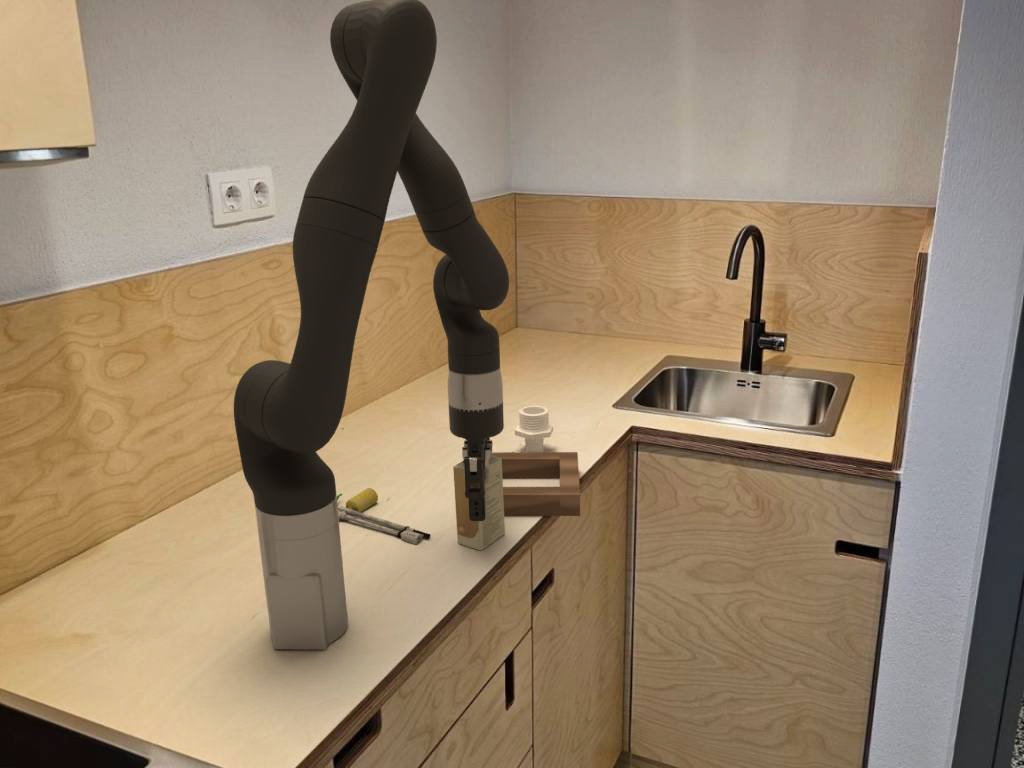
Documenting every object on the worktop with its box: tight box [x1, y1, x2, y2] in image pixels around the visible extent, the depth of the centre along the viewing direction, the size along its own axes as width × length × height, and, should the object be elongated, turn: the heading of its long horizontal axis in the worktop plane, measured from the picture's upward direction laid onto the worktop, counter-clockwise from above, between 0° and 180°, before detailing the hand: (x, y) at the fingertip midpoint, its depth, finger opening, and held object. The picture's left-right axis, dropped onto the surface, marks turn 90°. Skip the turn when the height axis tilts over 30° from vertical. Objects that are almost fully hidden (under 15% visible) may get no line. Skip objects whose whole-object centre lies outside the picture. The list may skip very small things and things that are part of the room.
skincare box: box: [452, 455, 506, 551], centre depth 128 cm, size 6×4×12 cm
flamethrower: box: [337, 487, 431, 546], centre depth 138 cm, size 29×3×10 cm
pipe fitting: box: [514, 405, 554, 452], centre depth 159 cm, size 6×7×8 cm
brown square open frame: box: [492, 451, 581, 517], centre depth 144 cm, size 17×17×4 cm
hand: (479, 507), depth 128 cm, fingers closed on skincare box, 7 cm apart
